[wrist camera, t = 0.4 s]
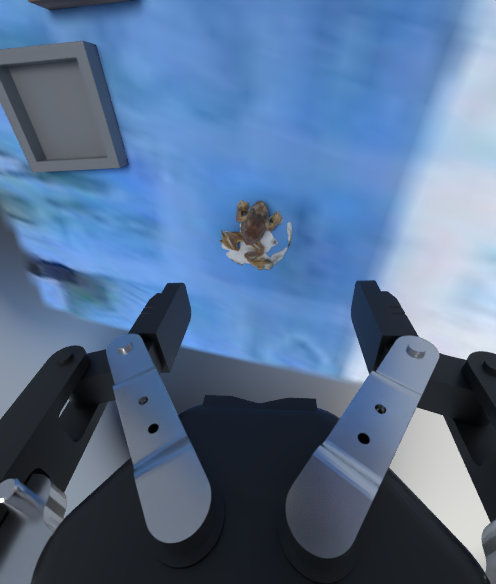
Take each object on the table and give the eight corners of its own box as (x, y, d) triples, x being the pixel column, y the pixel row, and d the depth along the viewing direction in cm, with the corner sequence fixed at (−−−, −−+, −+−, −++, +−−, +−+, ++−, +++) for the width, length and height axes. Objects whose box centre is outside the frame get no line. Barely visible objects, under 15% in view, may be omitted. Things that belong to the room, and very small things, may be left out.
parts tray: (-4, 55, 32) (-23, 51, 30) (95, 44, 31) (82, 40, 29) (45, 168, 39) (32, 172, 36) (128, 164, 37) (119, 167, 35)
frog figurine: (220, 180, 38) (215, 187, 35) (305, 204, 39) (307, 213, 36) (206, 254, 44) (201, 265, 41) (279, 273, 45) (279, 286, 42)
